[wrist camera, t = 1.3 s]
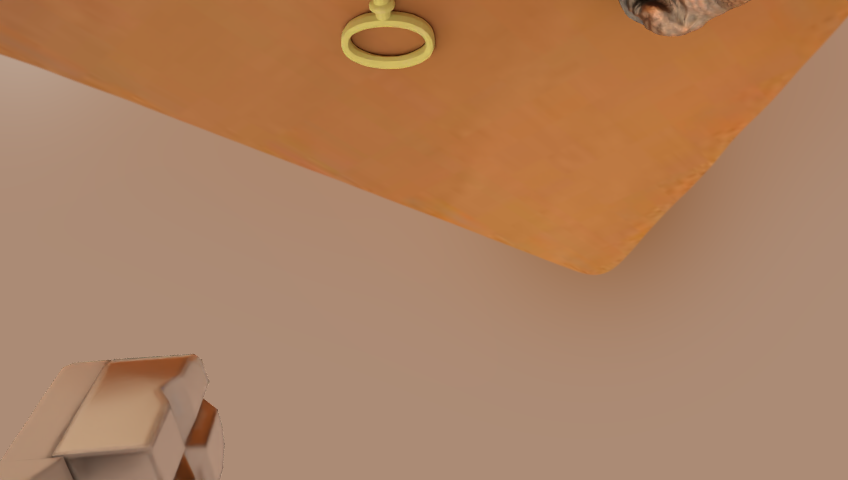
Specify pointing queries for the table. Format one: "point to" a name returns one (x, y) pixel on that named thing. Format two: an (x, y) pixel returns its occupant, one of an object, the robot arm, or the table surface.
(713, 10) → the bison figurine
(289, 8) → the table surface
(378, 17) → the key
